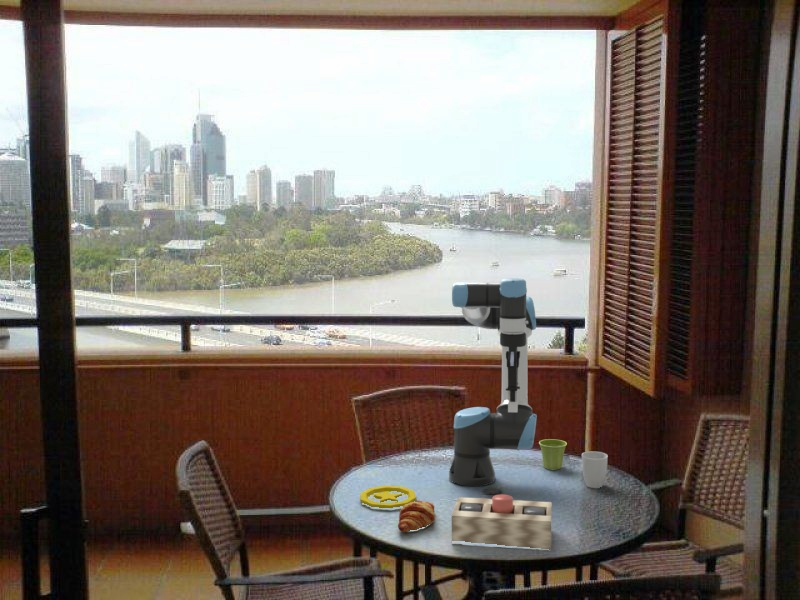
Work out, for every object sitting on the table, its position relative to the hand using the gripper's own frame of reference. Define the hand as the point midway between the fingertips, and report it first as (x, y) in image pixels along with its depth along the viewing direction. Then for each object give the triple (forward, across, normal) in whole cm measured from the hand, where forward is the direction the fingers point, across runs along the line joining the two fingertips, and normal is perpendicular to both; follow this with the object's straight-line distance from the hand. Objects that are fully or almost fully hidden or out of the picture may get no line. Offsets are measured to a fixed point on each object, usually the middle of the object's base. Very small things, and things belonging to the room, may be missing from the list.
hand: (512, 411), depth 240 cm
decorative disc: (+30, +1, +38) cm, 48 cm away
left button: (+26, -22, +10) cm, 36 cm away
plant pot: (+30, +40, -12) cm, 52 cm away
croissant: (+30, -16, +26) cm, 42 cm away
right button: (+26, -22, -7) cm, 35 cm away
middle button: (+23, -22, +2) cm, 32 cm away
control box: (+29, -22, +2) cm, 37 cm away
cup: (+30, +24, -25) cm, 45 cm away
